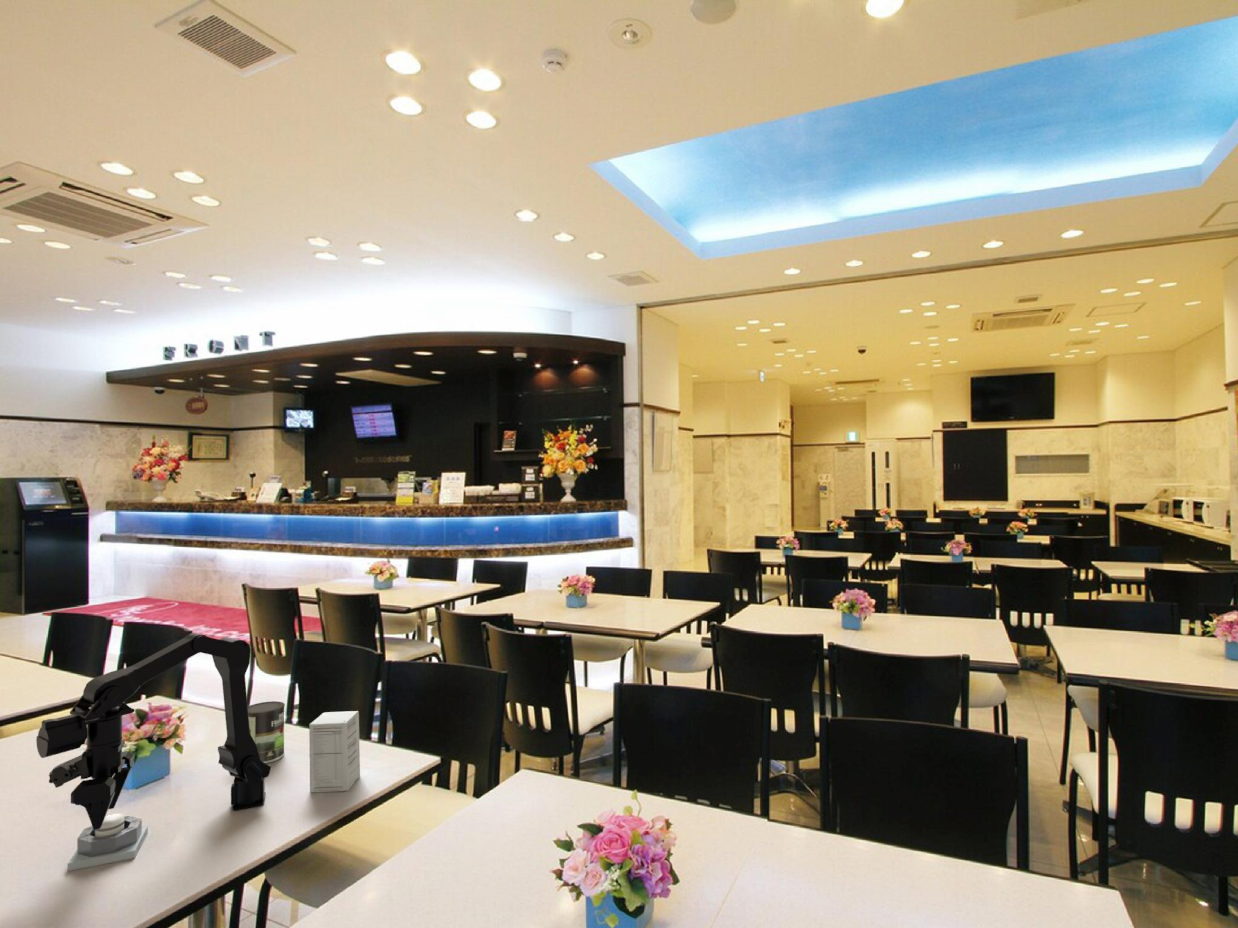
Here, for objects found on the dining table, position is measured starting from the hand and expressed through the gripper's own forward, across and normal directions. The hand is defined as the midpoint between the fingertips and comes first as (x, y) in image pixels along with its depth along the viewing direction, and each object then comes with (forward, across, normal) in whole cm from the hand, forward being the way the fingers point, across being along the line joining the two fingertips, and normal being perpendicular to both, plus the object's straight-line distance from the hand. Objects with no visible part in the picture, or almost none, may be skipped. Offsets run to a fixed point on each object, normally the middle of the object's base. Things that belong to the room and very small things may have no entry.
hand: (104, 818), depth 137 cm
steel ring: (+7, -4, 0) cm, 8 cm away
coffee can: (+9, -45, +25) cm, 53 cm away
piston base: (+8, -4, 0) cm, 9 cm away
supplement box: (+9, -18, +44) cm, 48 cm away
